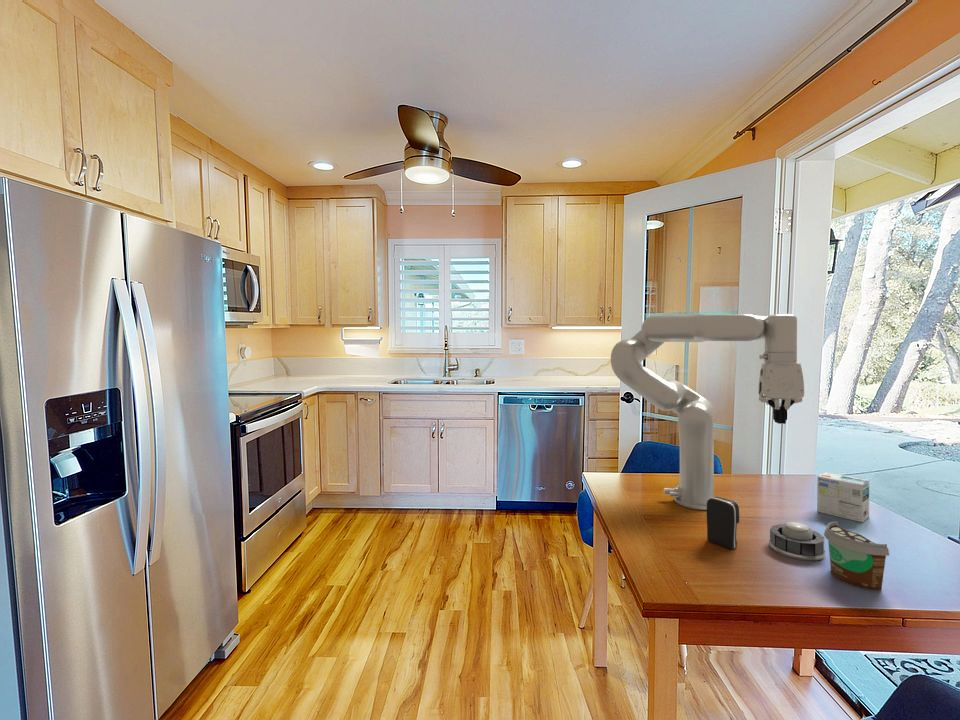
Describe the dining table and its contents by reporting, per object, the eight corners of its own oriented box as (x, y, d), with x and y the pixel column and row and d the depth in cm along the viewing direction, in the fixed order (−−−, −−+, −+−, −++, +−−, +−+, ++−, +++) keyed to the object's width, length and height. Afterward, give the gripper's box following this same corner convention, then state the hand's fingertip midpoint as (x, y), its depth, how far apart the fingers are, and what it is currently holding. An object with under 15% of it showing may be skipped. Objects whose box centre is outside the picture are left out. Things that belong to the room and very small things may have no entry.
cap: (789, 550, 106) (789, 530, 105) (777, 539, 111) (777, 519, 111) (817, 552, 104) (818, 531, 104) (804, 541, 110) (804, 521, 110)
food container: (809, 565, 101) (809, 522, 100) (834, 563, 101) (835, 520, 101) (860, 596, 89) (861, 547, 88) (888, 594, 89) (889, 545, 89)
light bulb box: (869, 517, 126) (870, 479, 125) (863, 523, 122) (864, 484, 121) (823, 506, 134) (824, 471, 134) (816, 512, 130) (816, 475, 130)
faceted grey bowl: (781, 559, 104) (781, 542, 104) (761, 538, 115) (761, 522, 114) (835, 562, 102) (835, 545, 101) (809, 540, 112) (810, 525, 112)
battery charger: (741, 546, 110) (741, 501, 110) (733, 551, 108) (733, 504, 108) (713, 536, 116) (713, 493, 116) (705, 540, 114) (705, 496, 114)
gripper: (756, 359, 123) (756, 425, 124) (817, 358, 120) (816, 425, 121) (746, 358, 131) (745, 420, 132) (803, 357, 128) (802, 420, 129)
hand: (780, 422), depth 126 cm, fingers closed
